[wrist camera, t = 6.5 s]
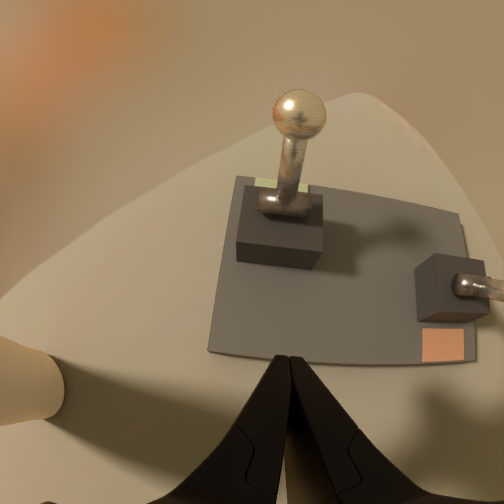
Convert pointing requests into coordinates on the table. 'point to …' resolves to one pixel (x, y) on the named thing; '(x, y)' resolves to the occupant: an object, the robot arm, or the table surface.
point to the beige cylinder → (28, 384)
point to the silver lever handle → (478, 286)
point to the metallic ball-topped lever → (293, 152)
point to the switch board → (344, 282)
